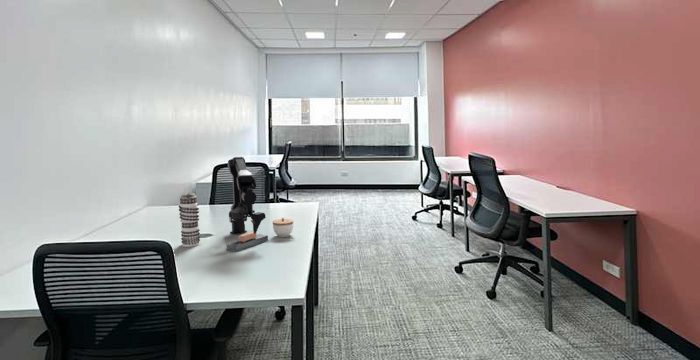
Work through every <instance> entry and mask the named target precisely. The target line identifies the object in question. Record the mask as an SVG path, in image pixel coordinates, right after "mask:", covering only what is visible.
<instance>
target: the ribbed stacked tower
mask: <svg viewBox="0 0 700 360" xmlns="http://www.w3.org/2000/svg"><path fill="white" fill-rule="evenodd" d="M197 197H198V196H197V195H196V194H195V193H193V192H185V193H182V194H181V195H180V197H179V205H178V211H179V219H180V223H181V231H180V233H181V234H180V236H181V239H180V240H181V243H182V244H181V246H182V247H188V248H189V247H195V246H199V245H200V244H201V236H200V227H199V221H200V218H199V217H200V215H198V214H199V213H200V211H199V210H200V208H199V207H198V206H199V203H198V198H197Z"/></svg>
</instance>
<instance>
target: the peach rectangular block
mask: <svg viewBox="0 0 700 360" xmlns="http://www.w3.org/2000/svg"><path fill="white" fill-rule="evenodd" d="M256 237H257V233H256V234H254V232H253V231H249V232H244V233H241V234H238V241H241V242H246V241H247V240H250V239H254V238H256Z"/></svg>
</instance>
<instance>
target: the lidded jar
mask: <svg viewBox="0 0 700 360" xmlns="http://www.w3.org/2000/svg"><path fill="white" fill-rule="evenodd" d="M272 229H273V232H274V234H275V235H277V237H278V238H286V237H289V236H290V235H291V234H292V233H293V231H294V220H293V219H290V218H284V217H281V219H275V220H273V221H272Z"/></svg>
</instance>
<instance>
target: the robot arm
mask: <svg viewBox="0 0 700 360" xmlns="http://www.w3.org/2000/svg"><path fill="white" fill-rule="evenodd" d="M227 169H228V172H229V173H230V174H231V176H232V193H233V194H232V197H233V199H232V200H233V203H232V205H231V207H230V210H229V212H228V221H229V223H231V230H232V231H230V232H229V233H231V234H236V235H242V234H245V233H248V232H247V230H246V223H245V222H247V221H248V218H250V219H251V220H250V222H251V223H252V232H254V234H256V235H257V232H258V229H259V228H260V225H261V223H262V221H263V220H265V219H266V213H265V212H259V211H258V212H255V210H254V209H253V208H254V206H253V205H255V202H256V201H257V195H256V193H255V192H254V191H253V190H255V189H257V182H256V178H255V177H254V176H253V174H252V173H251V171H248V169H247V166H246V159H245V157H244V156H234V157H232V158H231V159H229V160H227Z"/></svg>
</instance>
